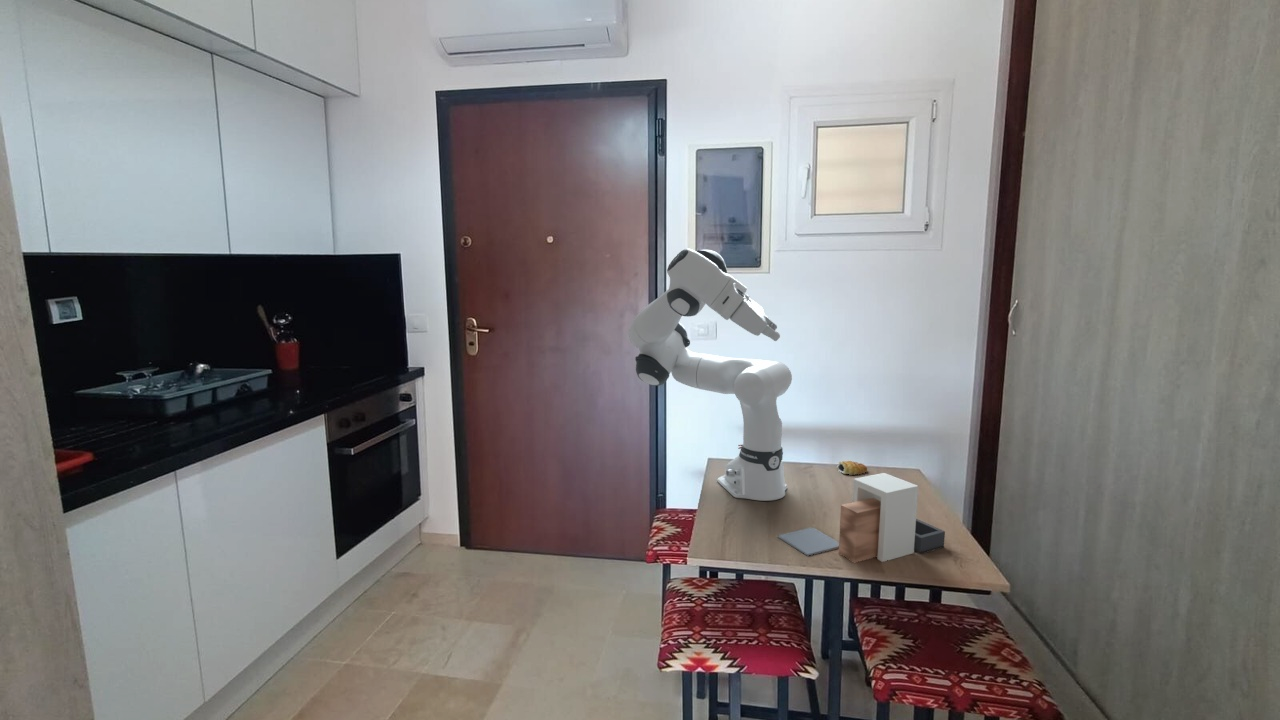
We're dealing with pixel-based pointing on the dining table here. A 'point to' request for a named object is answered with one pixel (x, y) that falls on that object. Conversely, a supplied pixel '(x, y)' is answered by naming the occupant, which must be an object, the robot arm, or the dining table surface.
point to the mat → (809, 541)
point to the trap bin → (927, 537)
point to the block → (859, 529)
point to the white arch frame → (891, 512)
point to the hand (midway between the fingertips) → (776, 333)
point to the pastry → (851, 467)
